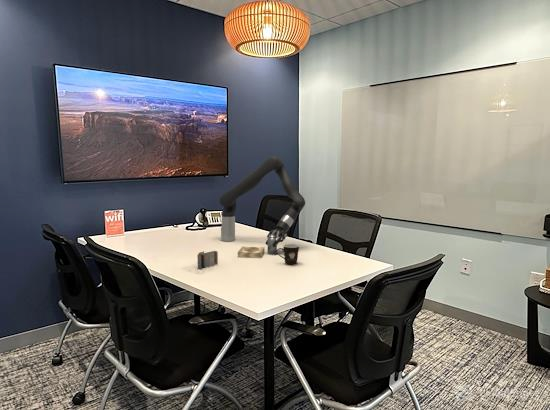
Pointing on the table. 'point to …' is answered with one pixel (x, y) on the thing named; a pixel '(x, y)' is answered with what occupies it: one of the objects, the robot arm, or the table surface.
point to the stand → (251, 252)
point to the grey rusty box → (207, 259)
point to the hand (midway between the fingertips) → (269, 245)
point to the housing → (271, 249)
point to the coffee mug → (290, 253)
